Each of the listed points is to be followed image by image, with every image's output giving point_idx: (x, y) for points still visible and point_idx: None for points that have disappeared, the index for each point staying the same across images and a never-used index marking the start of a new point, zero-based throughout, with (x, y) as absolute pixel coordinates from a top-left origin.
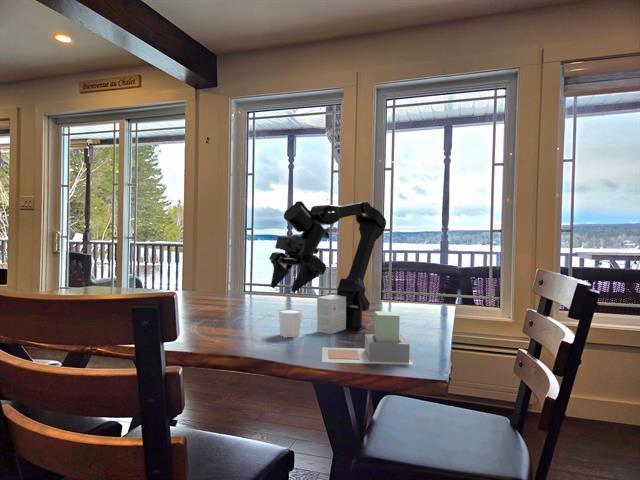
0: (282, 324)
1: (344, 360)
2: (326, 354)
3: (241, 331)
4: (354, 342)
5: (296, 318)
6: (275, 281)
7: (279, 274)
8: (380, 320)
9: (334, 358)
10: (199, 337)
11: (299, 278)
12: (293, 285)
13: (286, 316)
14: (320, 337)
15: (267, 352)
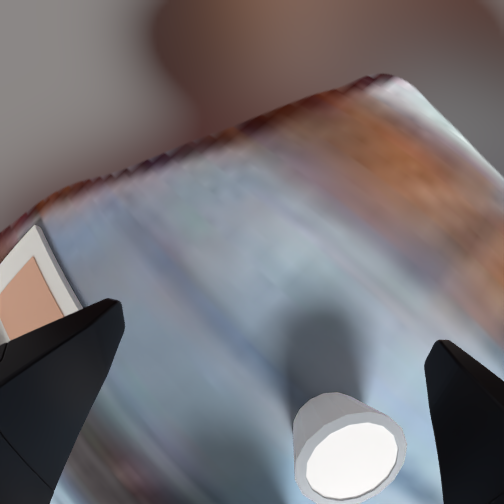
0: (343, 401)
1: (9, 272)
2: (52, 284)
3: (473, 325)
4: (111, 478)
5: (295, 448)
6: (453, 395)
7: (486, 473)
8: None
9: (25, 265)
10: (477, 187)
11: (2, 351)
12: (87, 316)
13: (330, 417)
14: (225, 474)
15: (217, 211)
